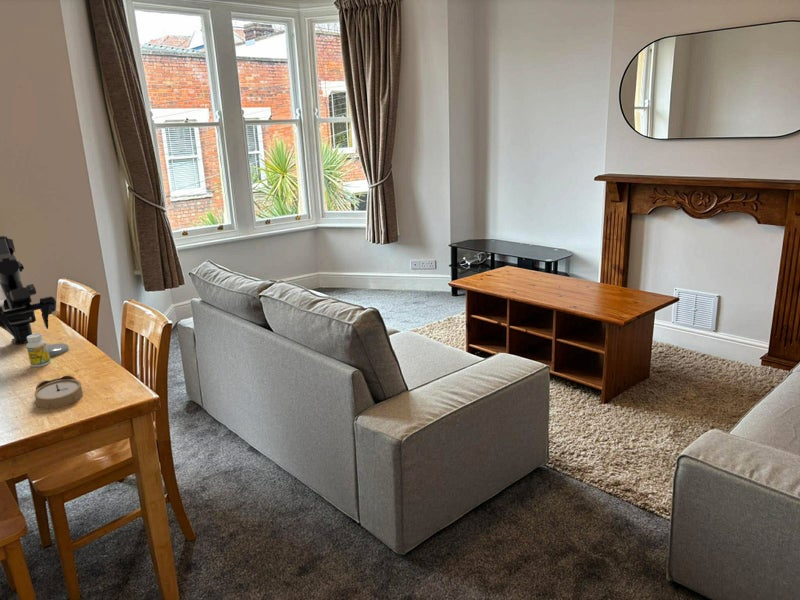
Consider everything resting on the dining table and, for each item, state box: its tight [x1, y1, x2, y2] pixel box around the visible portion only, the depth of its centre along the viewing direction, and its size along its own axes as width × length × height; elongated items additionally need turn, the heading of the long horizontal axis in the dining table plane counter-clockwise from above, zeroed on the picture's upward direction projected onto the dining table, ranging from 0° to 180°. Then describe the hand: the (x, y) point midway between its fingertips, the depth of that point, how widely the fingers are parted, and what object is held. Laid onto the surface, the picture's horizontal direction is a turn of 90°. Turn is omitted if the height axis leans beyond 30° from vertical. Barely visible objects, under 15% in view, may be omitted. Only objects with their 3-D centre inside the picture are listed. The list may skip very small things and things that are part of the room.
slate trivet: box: [46, 343, 70, 359], centre depth 201 cm, size 11×11×1 cm
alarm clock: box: [33, 374, 84, 410], centre depth 167 cm, size 11×5×15 cm
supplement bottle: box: [25, 333, 51, 368], centre depth 191 cm, size 5×5×10 cm
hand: (31, 332), depth 191 cm, fingers open, 9 cm apart
